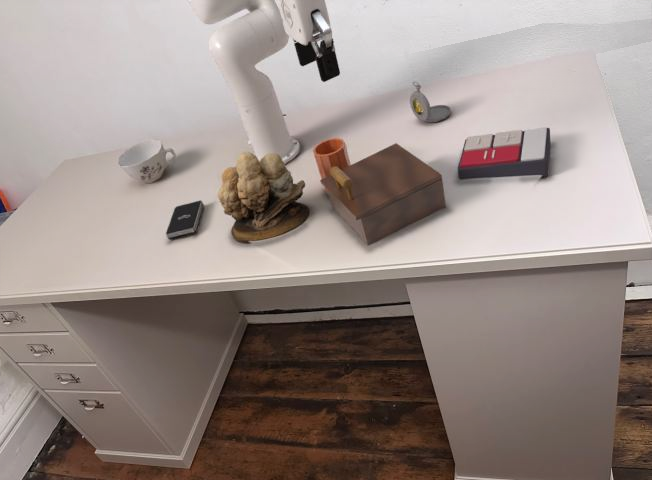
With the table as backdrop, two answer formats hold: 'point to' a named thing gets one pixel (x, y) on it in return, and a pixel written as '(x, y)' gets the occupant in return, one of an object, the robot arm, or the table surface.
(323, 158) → the cup
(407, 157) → the lid
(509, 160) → the calculator
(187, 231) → the external hard drive
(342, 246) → the table surface
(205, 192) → the table surface
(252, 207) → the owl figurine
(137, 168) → the teacup
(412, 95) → the pocket watch
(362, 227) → the chest
